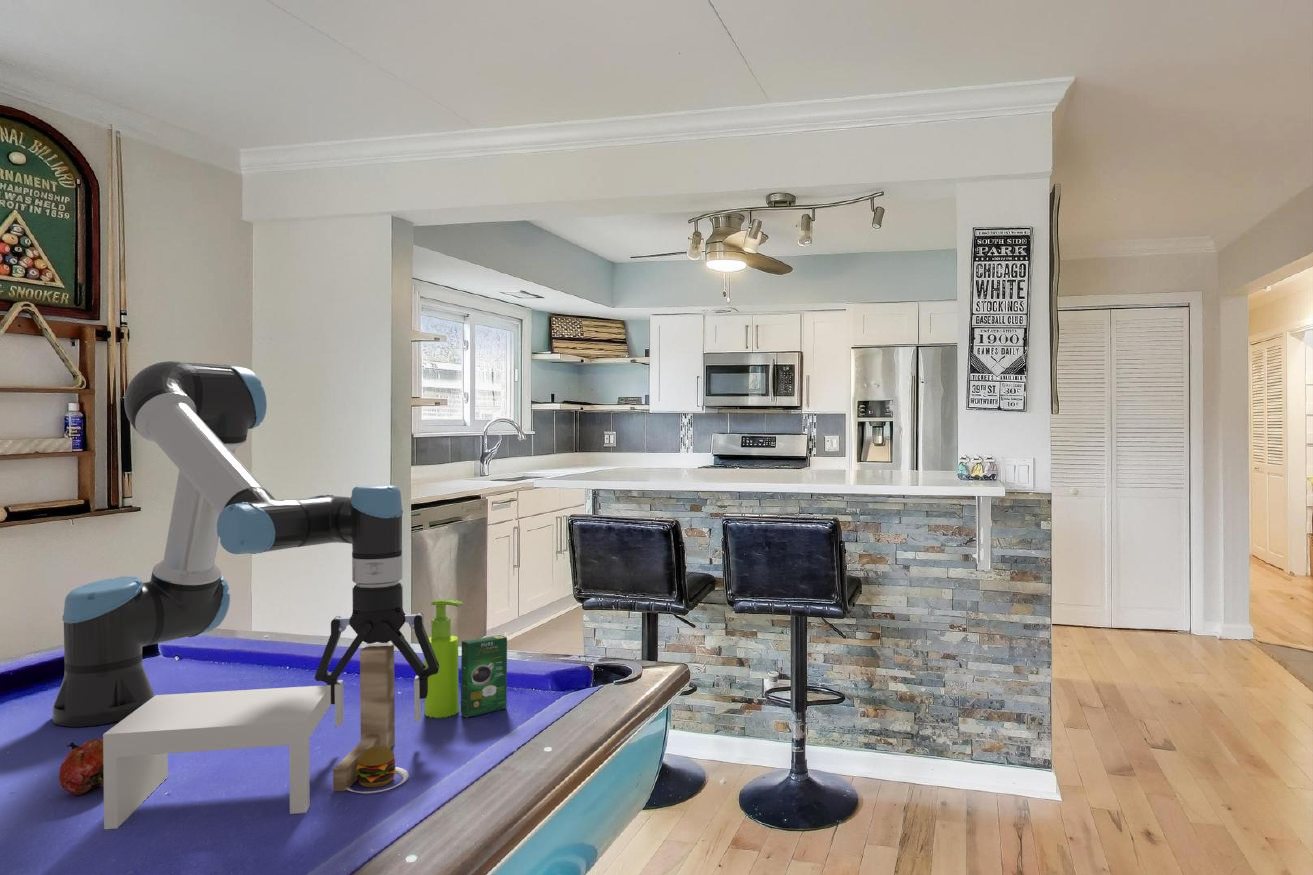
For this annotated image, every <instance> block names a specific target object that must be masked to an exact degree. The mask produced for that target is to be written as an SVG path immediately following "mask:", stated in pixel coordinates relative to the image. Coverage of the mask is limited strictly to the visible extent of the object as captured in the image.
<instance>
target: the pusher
mask: <svg viewBox="0 0 1313 875" xmlns="http://www.w3.org/2000/svg"><path fill="white" fill-rule="evenodd" d="M359 671H360V672H359V684H360V685H359V691H360V692H359V694H360V695H359V696H360V698H359V700H360V702H359V704H360V711H359V712H360V742H358V744H356V746H355V747H354V748H352V750H351V751H350V752H349V753H347V755H345V756H344V758H342V760H341V761H340V762H339V763H338V764H336V766H335V767H334V768H333V769H332V783H333V784H332V785H333V786H332V790H333V792H347V791H348V790H347V789H345V788H351V786H352V785H353V784H355V782H356V781H357V780H358V779H357V775H356V774H357V773H358V772H356V770H355V769H356V767H357V764H358V763H357V762H358V757H359V755H360V754H361V753H362V752H363V751H364V750H366V749H368V748H370V747H373V746H379V745H380V746H386V747H388V748H390V749H391V750H392V748H393V747H394V746H395V745H396V735H395V734H396V729H395V727H396V726H395V725H396V724H395V721H396V720H395V719H396V718H395V716H396V715H395V714H396V712H395V710H396V708H395V703H396V702H395V701H396V700H395V645H394V644H393V643H377V644H376V643H372V644H367V645H365V647H363V648H361V649H360V650H359ZM354 770H355V771H354Z"/></svg>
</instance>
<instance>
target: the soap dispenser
mask: <svg viewBox="0 0 1313 875" xmlns="http://www.w3.org/2000/svg"><path fill="white" fill-rule="evenodd" d="M463 604H464V602H463V601H460V600H457V599H452V598H451V599H449V598H447V599H444V598H443V599H435V600H433V601H431V603H430V605H431V606H435V616H434V617H433V618H432V619H431V620H430V621H431V622H430V631H431V632H430V633H431V634H430V636H428V638H429V641H430V643H431V646H432V648H433V651H434V653H435V656H436V658H437V661H438V663H439V670H438V673H437V674H435V675H434V674H433V675H431V676H429V677H428V694H427V697H426V698H424V716H426V717H428V716H429V717H428V718H432V717H434V718H436V719H441V718H442V717H443V718H449V717H452V716H455V715H457V714H458V713H459V710H460V706H459V705H460V702H459V697H460V696H459V694H460V692H459V691H460V690H459V637H458V636H456V635H452V626H451V625H452V618H450V617H449V616H446V615H447V612H446V611H447V606H453V607H456V608H458V607H461V606H462V605H463ZM423 658H424V659H423V660H424V661H423V664H424V665H425V667H428V664H427V662H426V659H425V657H424V656H423ZM451 715H452V716H451ZM448 716H449V717H448ZM443 718H442V719H443Z"/></svg>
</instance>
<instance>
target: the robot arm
mask: <svg viewBox="0 0 1313 875" xmlns="http://www.w3.org/2000/svg"><path fill="white" fill-rule="evenodd" d="M123 402H124V403H123V404H124V406H123V407H124V411H125V415H126V417H127V419H128V421H129V423H130V424H131V426H132V428H134V430H136V432H137V433H138V434H139V435H140V436H141V437H142V438H143V439H145V440H147V441H150V442H154V443H155V444H156V445H158V447H159V449H160V450H162V452H164V454H165V455H166V456H167V458H169V460H170V461H171V462H172V463H173V465H175V467H177V469H178V475H177V481H176V487H175V492H174V498H173V503H172V508H171V510H172V511H171V514H170V515H171V516H170V521H169V526H168V533H167V537H166V538H167V539H166V545H165V551H164V556H163V559H162V560H161V561H159V562H157V563H156V564H154V566H153V567H152V572H151V577H150V581H146V582H145V581H144V582H142V579H141V578H140V577H137V576H120V577H114V578H107V579H101V580H96V581H93V582H90V583H86V584H82V585H80V586H78V587H76V588H74V589H72V590H71V591H70V592H69V593H68V594H66V596H65V599H64V605H63V606H64V607H63V615H62V621H63V646H64V647H63V650H64V651H63V653H64V654H63V655H64V656H63V657H64V676H63V679H62V682H61V685H60V687H59V690H58V693H57V695H56V697H55V698H56V699H55V701H54V703H53V707H52V722H53V723H54V725H57V726H62V727H69V728H70V727H75V728H76V727H92V726H100V725H107V724H110V723H116V722H120V721H122V720H123V719H124V718H126V717H127V716H128V715H130V714H131V713H133V712H134V711H135V710H137V709H138V708H139V707H141V706H142V705H143V704H145V703H146V702H147V701H149V700H150V699H151V698H153V697H154V696H155V693H154V691H153V688H152V685H151V683H150V680H149V678H148V675H147V673H146V671H145V668H144V665H143V647H147V646H152V645H156V644H157V645H158V644H160V643H164V642H165V643H167V642H169V641H170V642H172V641H175V640H179V639H185V638H194V637H198V636H199V635H202V634H205V633H209V632H212V631H213V630H215V629H217V628H218V627H219V626H220V625H221V624H222V623H223V622H224V620H225V618H226V616H227V614H228V611H229V608H230V603H231V594H230V593H229V590H230V587H229V584H228V581H227V580H226V578H225V577H224V576H223V575H222V571H221V569H220V568H219V567H218V566H217V564H215V561H216V556H217V550H218V545H219V543H220V546H221V547H222V548H223V549H224V550H225V551H226V552H228V553H230V554H232V555H245V554H247V555H248V554H250V555H256V554H262V553H267V552H273V551H275V552H276V551H281V550H287V549H294V548H301V547H302V548H303V547H310V546H317V545H324V544H333V543H335V544H336V543H338V544H351V548H352V551H351V557H352V559H351V561H352V563H351V564H352V565H351V566H352V567H351V569H352V570H351V571H352V572H351V573H352V574H351V577H352V581H351V582H353V583H354V584H355V585H354V586H353V587H352V612H351V616H350V617H349V616H348V617H342V616H340V615H336V616H335V617H334V618H333V619H332V620H331V621H330V636H329V638H328V641H327V642H326V646H325V649H324V651H323V653H322V656H321V659H320V661H319V665H318V667H317V670H316V673H315V674H314V680H315V681H316V682H324V683H325V684H326V685H331V705H334V727H335V728H339V727H340V728H341V726H342V725H343V722H344V680H343V679H339V680H338V678H339V677H340V675H341V674H342V672H343V671H344V669H346V667H347V665H348V664H349V662H350V661H351V659H352V658H353V656H354V655H355V653H356V652H357V650H358V649H359V647H360V646H361V645H362V643H365V644H367V645H369V644H376V643H379V644H389V642H391V644H394V647H396V648H397V649H398V651H399V652H400V654H401V655H402V656H403V658H404V659H405V661H406V662H407V663H408V665H409V666H410V667H411V668H412V670H413V671H414V673H415V674H416V675H415V677H414V680H413V692H414V693H413V695H414V696H413V699H414V700H413V703H414V706H413V709H414V712H413V713H414V719H413V720H414V723H416V722H420V721H421V717H422V699H424V700H425V698H426V697H427V694H428V677H429V676H431V675H433V674H434V675H435V674H437V673H438V670H439V663H438V661H437V658H436V656H435V653H434V651H433V648H432V646H431V643H430V641H429V638H428V637H429V636H428V634H427V632H426V629H425V627H424V625H425V624H424V613H422V612H421V611H419V612H417V613H416V614H406V613H405V611H404V608H403V607H404V606H403V604H404V602H403V597H404V596H403V593H404V592H403V584H402V583H401V582H399V581H401V580H402V579H403V513H404V510H403V505H402V494H401V490H400V488H399V487H397V486H396V485H392V484H374V485H373V484H369V485H358V486H357V485H356V486H354V487H353V488H352V490H351V497H350V496H337V495H333V494H325V495H322V494H321V495H314V496H311V497H310V496H309V497H308V498H297V499H296V498H295V499H281V500H278V499H276V498H275V497H274V496H273V495H272V493H270V492H269V491H268V490H267V489H266V487H265V486H263V485H262V483H261V482H260V481H259V480H258V479H257V477H255V475H254V474H252V473H251V471H249V469H248V468H247V467H246V466H245V465H244V464H243V463H242V462H241V461H240V459H238V458H237V456H236V455H235V454H236V449H237V448H238V447H240V446H241V445H243V444H245V443H246V441H247V437H248V433H249V430H253V429H255V428H258V427H259V426H260V425H261V423H263V422H264V419H265V417H266V413H267V396H266V392H265V387H264V386H263V383H262V382H261V379H260V378H259V376H258V375H257V374H256V373H255V372H254V371H252V370H251V369H248V368H246V367H244V366H243V367H242V366H235V365H231V364H227V363H226V364H225V363H224V364H222V363H221V364H217V363H199V362H198V363H197V362H181V361H169V360H168V361H161V362H157V363H156V362H155V363H154V364H150V365H149V366H147V367H145V368H142V369H141V370H140V371H139V372H138V373H136V375H134V377H133V378H132V379H131V380H130V382H129V384H128V386H127V387H126V390H125V394H124V399H123ZM219 539H220V540H219ZM405 623H407V624H408V625H409V628H410V629H414V634H415V637H416V639H417V642H418V644H419V647H420V649H421V651H422V655H423V658H424V657H425V659H426V662H427V664H428V667H425V665H424V662H423V661H422V660H421V658H420V657H419V656H418V654H417V653H416V652H415V650H414V649H413V647H412V646H411V645H410V644H409V642H408V641H407V639H406V637H405V636H404V634H403V633H402V632H401V628H402V627H403V626H404V624H405ZM348 626H350V627H351V629H352V630H353V631H354V632H355V634H356V636H355V638H354V639H353V640H352V642H351V644H350V646H348V648H347V649H346V651H345V653H344V654H343V655H342V657H341V658H340V660H339V661H338V663H337V664H336V666H335V667H334V668H333V670H332V672H330V671H329V670H328V669H329V667H330V664H331V662H332V659H333V656H334V654H335V651H336V648H337V646H338V643H339V640H340V638H341V635H342V633H343V632H345V631H346V629H347V627H348Z"/></svg>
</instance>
